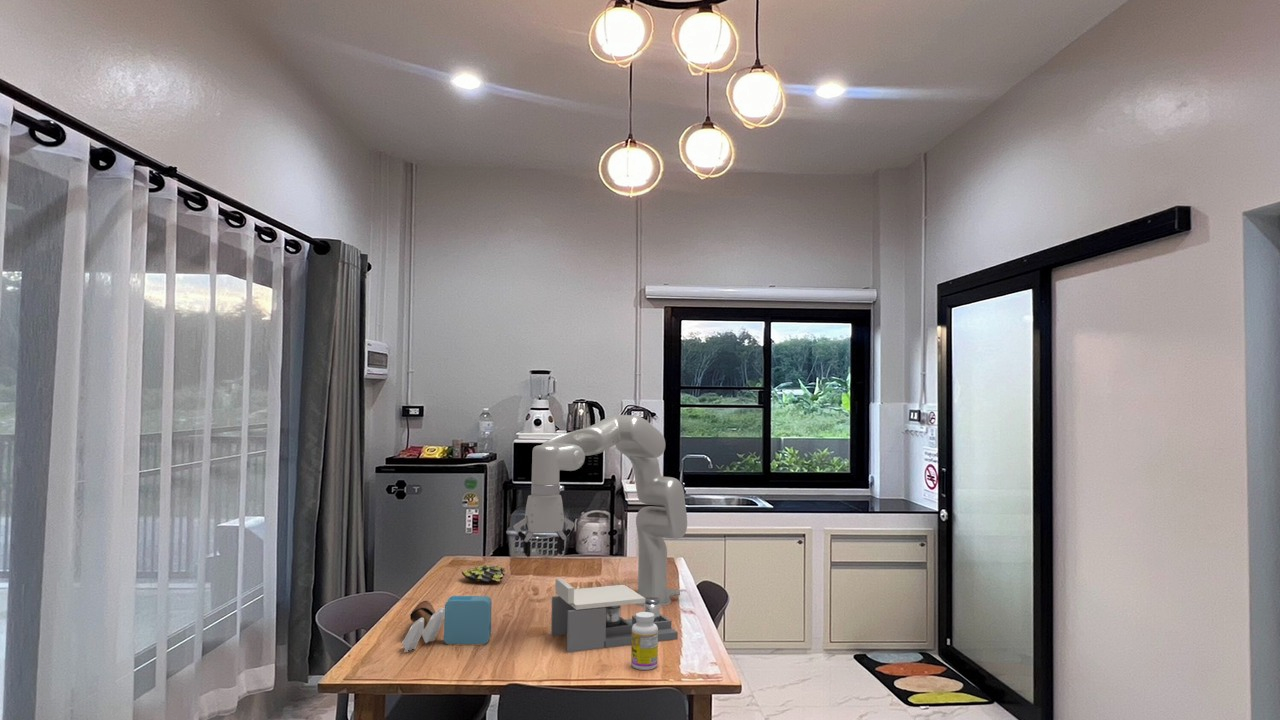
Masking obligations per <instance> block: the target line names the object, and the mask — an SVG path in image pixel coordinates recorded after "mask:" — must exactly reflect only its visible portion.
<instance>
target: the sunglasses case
mask: <svg viewBox="0 0 1280 720" xmlns="http://www.w3.org/2000/svg"><path fill="white" fill-rule="evenodd" d="M435 612H436V610H435V608H434V607H433V605H432V603H430V601H428V600H423V601H421V602H419V603H418V604H417V605H416V606H415V608H414V609H413V610H412V611H411V613H410V614H409V616H410V621H411V622H412V623H413V624H414V623H415V622H416V621H417V620H418V619H420V618H424V629H425V627H426V626H427V624H428V622H429V620H430V618H431V616H432V615H433V614H434V613H435ZM424 629H423V630H424Z"/></svg>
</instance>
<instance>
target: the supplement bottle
mask: <svg viewBox="0 0 1280 720" xmlns="http://www.w3.org/2000/svg"><path fill="white" fill-rule="evenodd" d="M635 616H636V621H637V623H635V624H634V625H633V626H632V645H630V646H631V653H630V655H631V656H630V657H631V659H630V663H631V667H632V668H634V669H636V670H640V671H650V670H653V669H656V668H657V666H658V661H659V660H658V653H659V652H658V651H659V649H658V647H659V642H658V627H657V625H656V624H654V623H653V621H654V614H653V613H651V612H644V611H640V612H636V613H635Z"/></svg>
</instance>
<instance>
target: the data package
mask: <svg viewBox="0 0 1280 720" xmlns="http://www.w3.org/2000/svg"><path fill="white" fill-rule="evenodd" d="M492 602H493V601H492V599H491V597H489V596H487V595H485V596H484V595H483V596H482V595H453V596H450V597H449V598H448V600H447V601H446V602H445V604H444V618H443V641H444V643H445V644H446V645H447V644H476V645H475V646H478V645H477V644H485V645H487V644H488V642H489V641H490V638H491V636H492V605H493V604H492Z"/></svg>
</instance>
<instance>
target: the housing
mask: <svg viewBox="0 0 1280 720" xmlns="http://www.w3.org/2000/svg"><path fill="white" fill-rule="evenodd" d="M550 618H551V626H550V628H551V629H550V635H551V637H555V636H556V637H557V636H562V635H563V636H564V635H566V638H567V639H566V653H568V654H569V653H570V654H571V653H578V652H586V651H587V652H588V651H593V650H602V649H611V648H618V647H619V648H620V647H626V646H627V647H628V646H632V626H633V625H634V624H635V623H637V621H636V615H631V618H628V619H624V618H623V617H621V616H620V626H616V627H607V628H606V607H598V608H588V609H578V610H576V609H575V608H573V607H572V606H571V605H570V604H568V603H567V602H565V601H564V600H563V599H562V598H561V597H560V596H559V595H555V596H554V595H553V596H551V617H550ZM653 623H654V624H656V625H657V627H658V643H659V642H667V641H675V640H679V639H678V636H679V634H678V633H679V632H678V631H677V630H675V629H674V628H673V627H672V620H670V619H669V618H668V617H666V616H665V615H662V613H660V622H653Z"/></svg>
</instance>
